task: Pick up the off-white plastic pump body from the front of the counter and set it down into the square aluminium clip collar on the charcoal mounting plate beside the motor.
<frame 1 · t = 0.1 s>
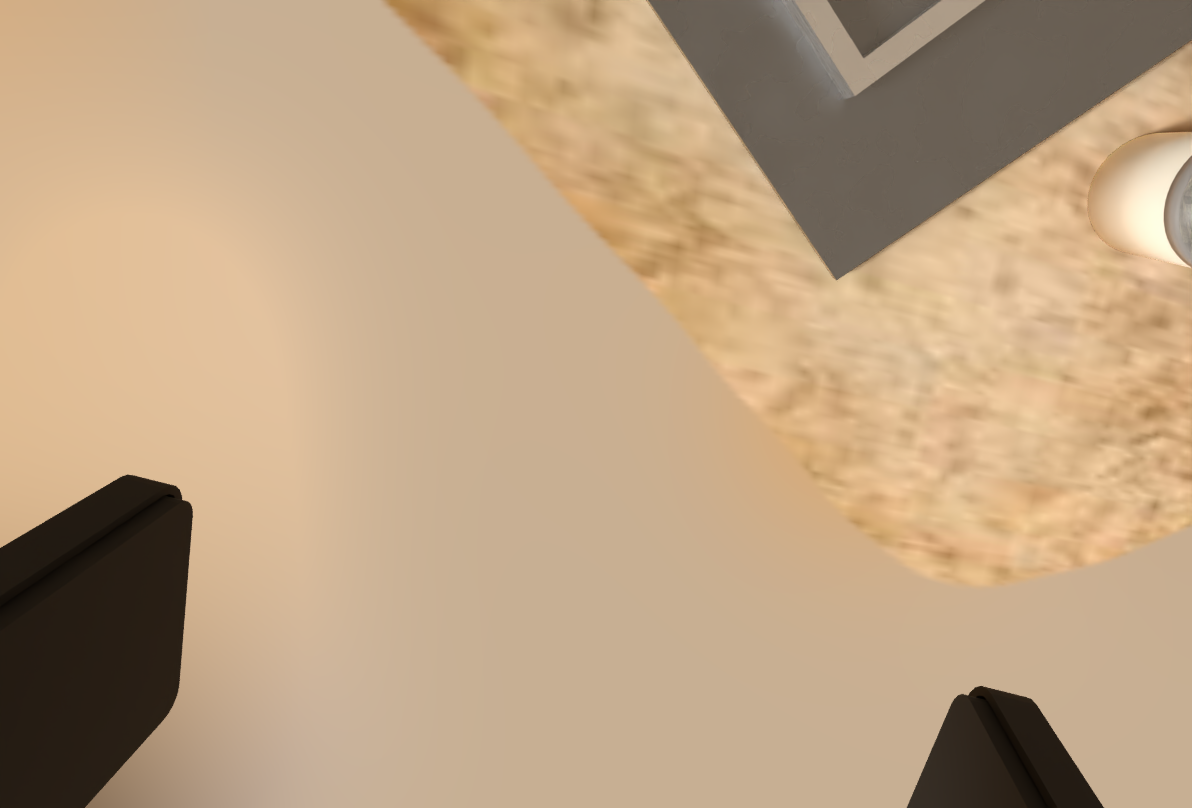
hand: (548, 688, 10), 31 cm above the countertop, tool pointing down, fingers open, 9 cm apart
pump body: (1150, 194, 36), on the countertop
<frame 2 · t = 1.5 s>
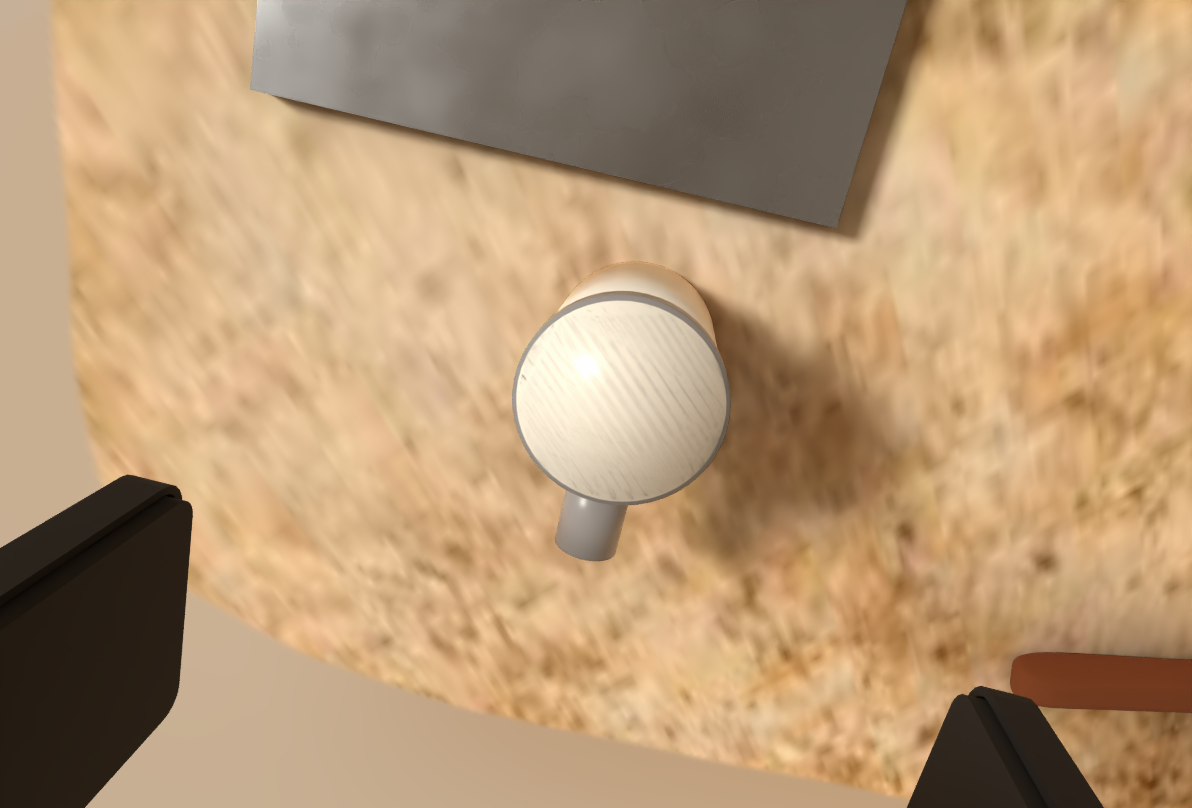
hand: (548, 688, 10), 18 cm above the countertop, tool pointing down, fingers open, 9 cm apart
pump body: (634, 341, 27), on the countertop
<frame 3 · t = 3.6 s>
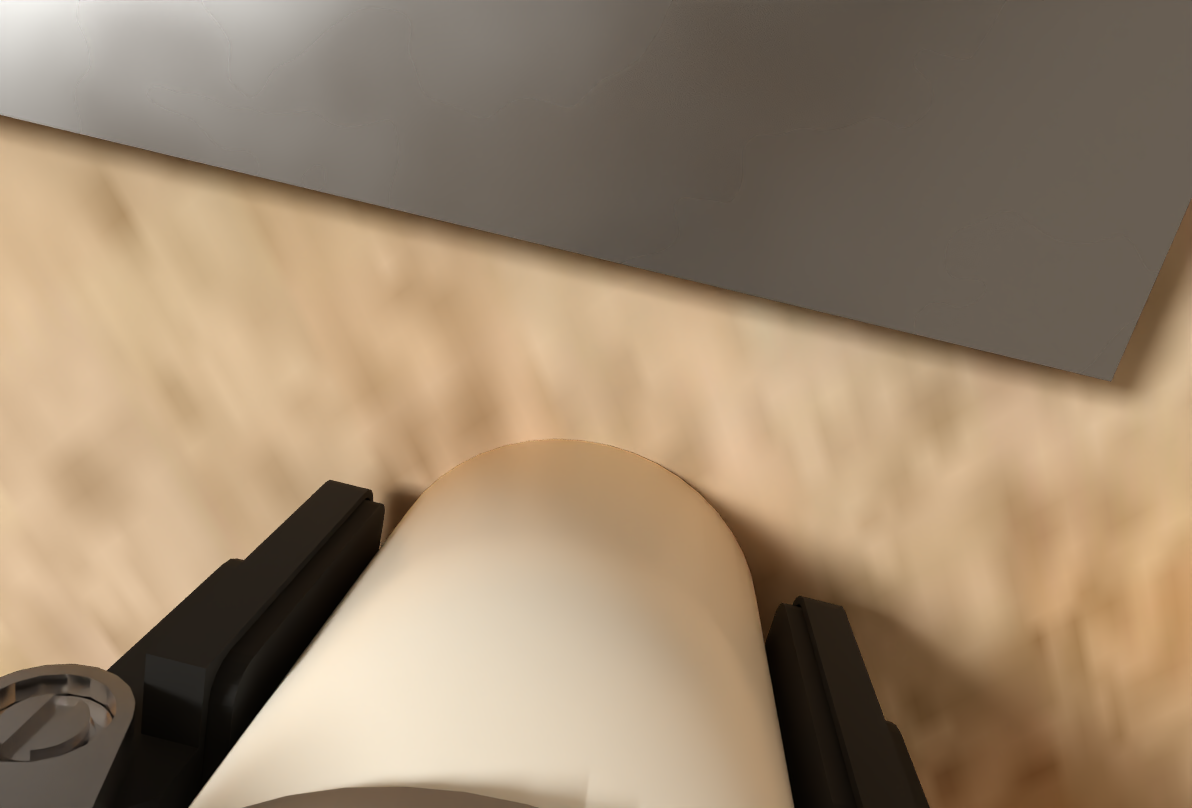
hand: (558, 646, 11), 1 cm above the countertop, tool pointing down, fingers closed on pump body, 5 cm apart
pump body: (565, 617, 11), on the countertop, touching gripper
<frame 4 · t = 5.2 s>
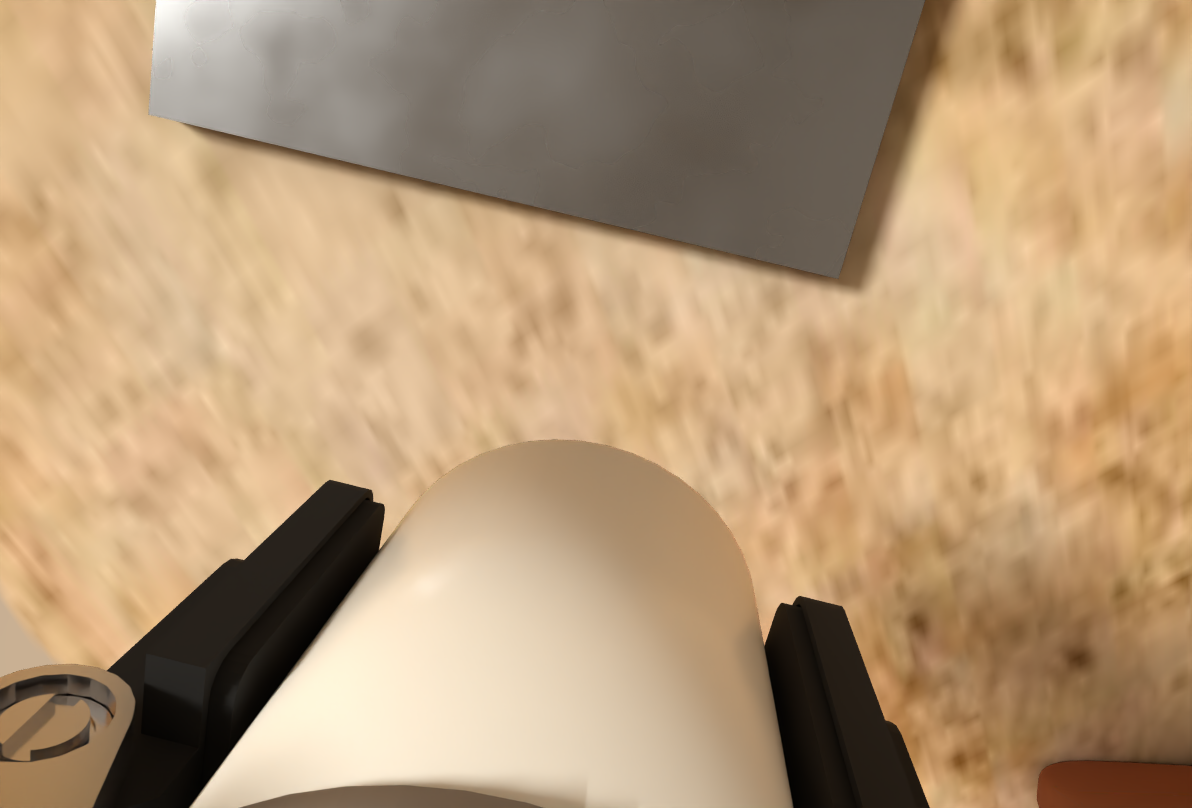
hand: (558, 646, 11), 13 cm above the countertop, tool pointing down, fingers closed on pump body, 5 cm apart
pump body: (565, 617, 11), point 12 cm above the countertop, touching gripper
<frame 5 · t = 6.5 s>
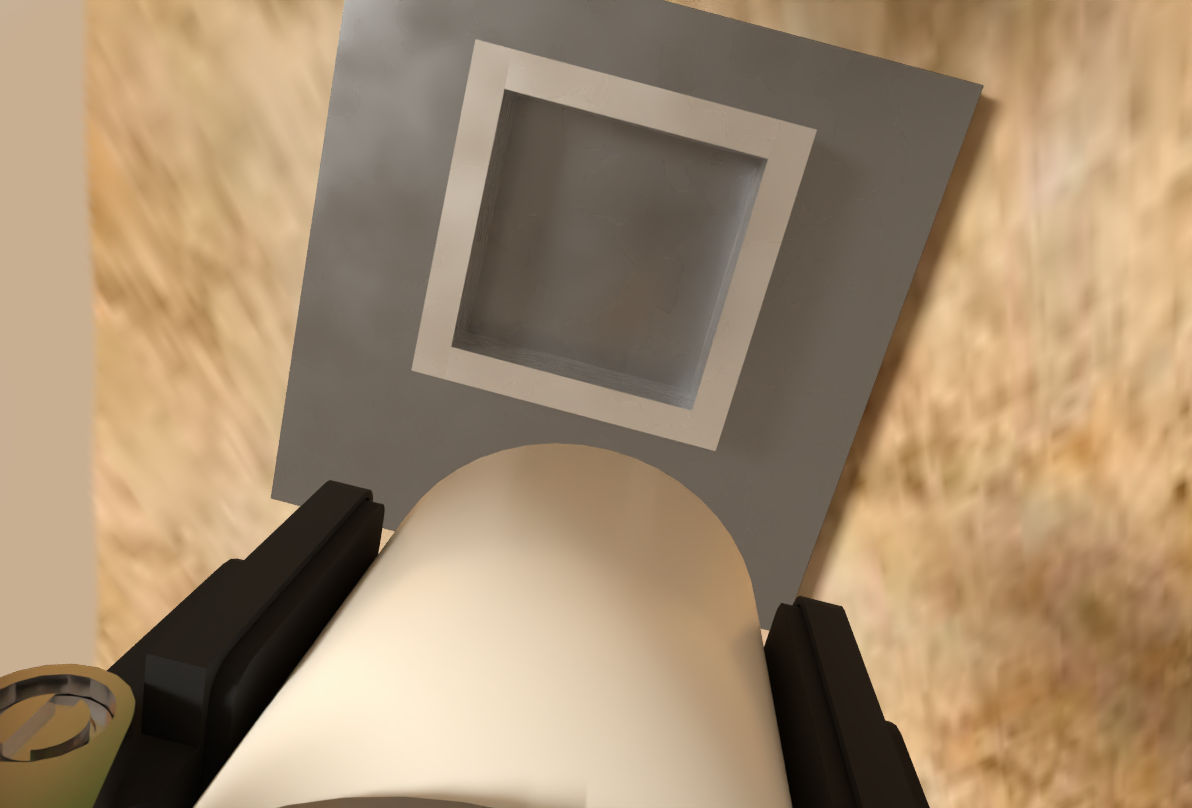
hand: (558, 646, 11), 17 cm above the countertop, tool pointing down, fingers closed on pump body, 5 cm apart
mount plate: (593, 307, 26), on the countertop
pump body: (564, 621, 11), point 16 cm above the countertop, touching gripper
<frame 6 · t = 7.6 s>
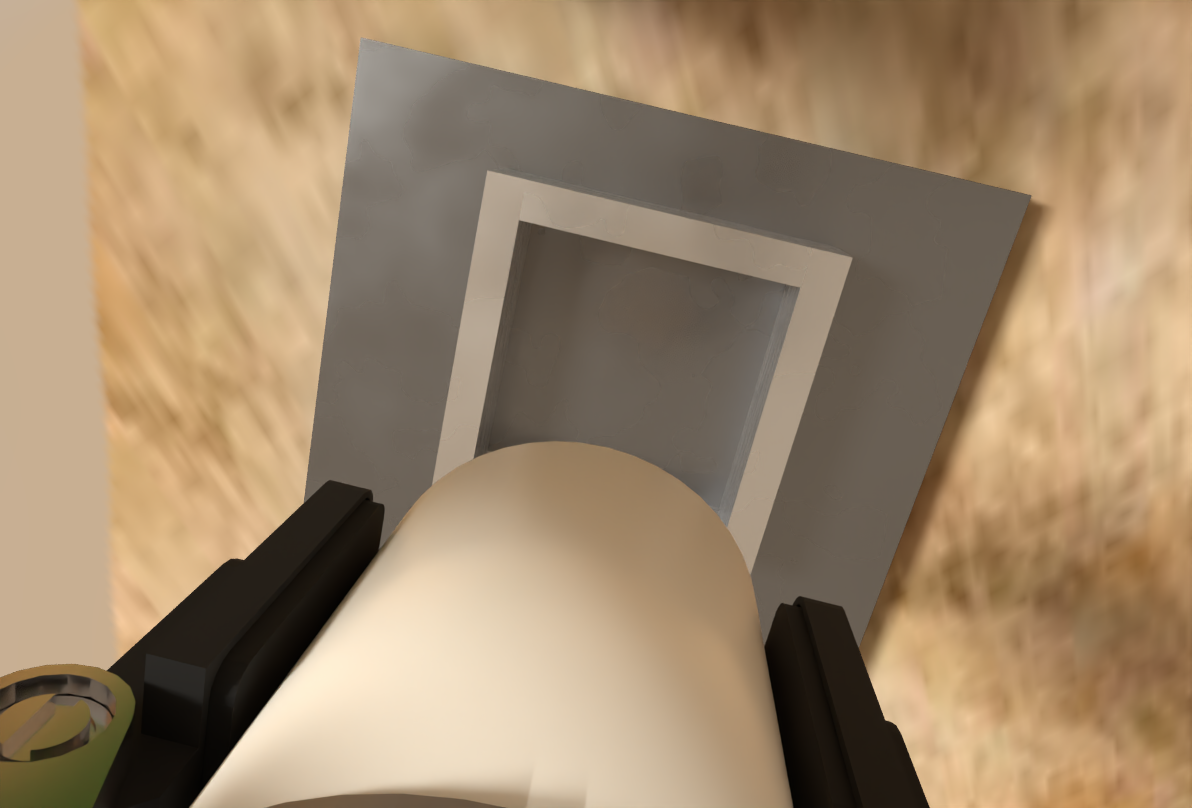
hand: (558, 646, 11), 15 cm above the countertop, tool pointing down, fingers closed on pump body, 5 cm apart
mount plate: (617, 419, 25), on the countertop
pump body: (564, 619, 11), point 14 cm above the countertop, touching gripper
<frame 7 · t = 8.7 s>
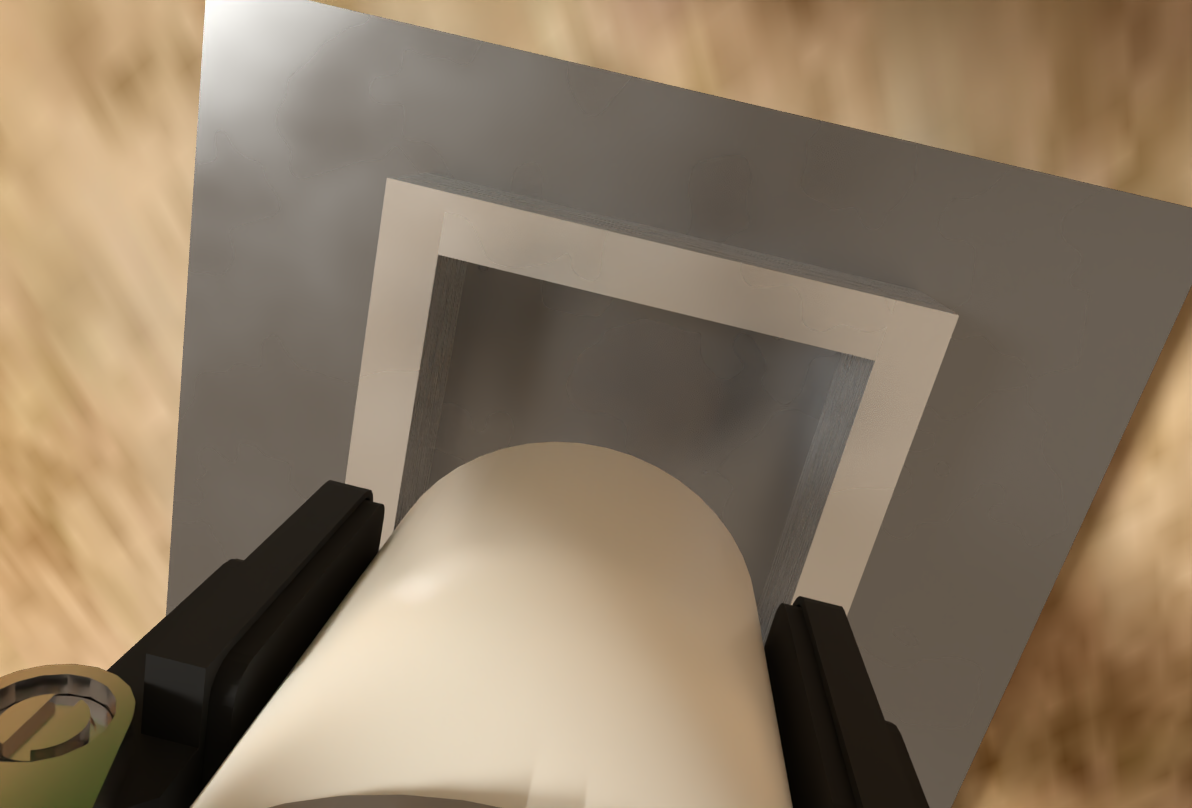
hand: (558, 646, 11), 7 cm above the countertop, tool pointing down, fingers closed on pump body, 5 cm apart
mount plate: (597, 525, 18), on the countertop
pump body: (564, 620, 11), point 6 cm above the countertop, touching gripper
when the fingers open (4 cm above the countertop, at t = 9.8 s): pump body drops 2 cm, resting on mount plate.
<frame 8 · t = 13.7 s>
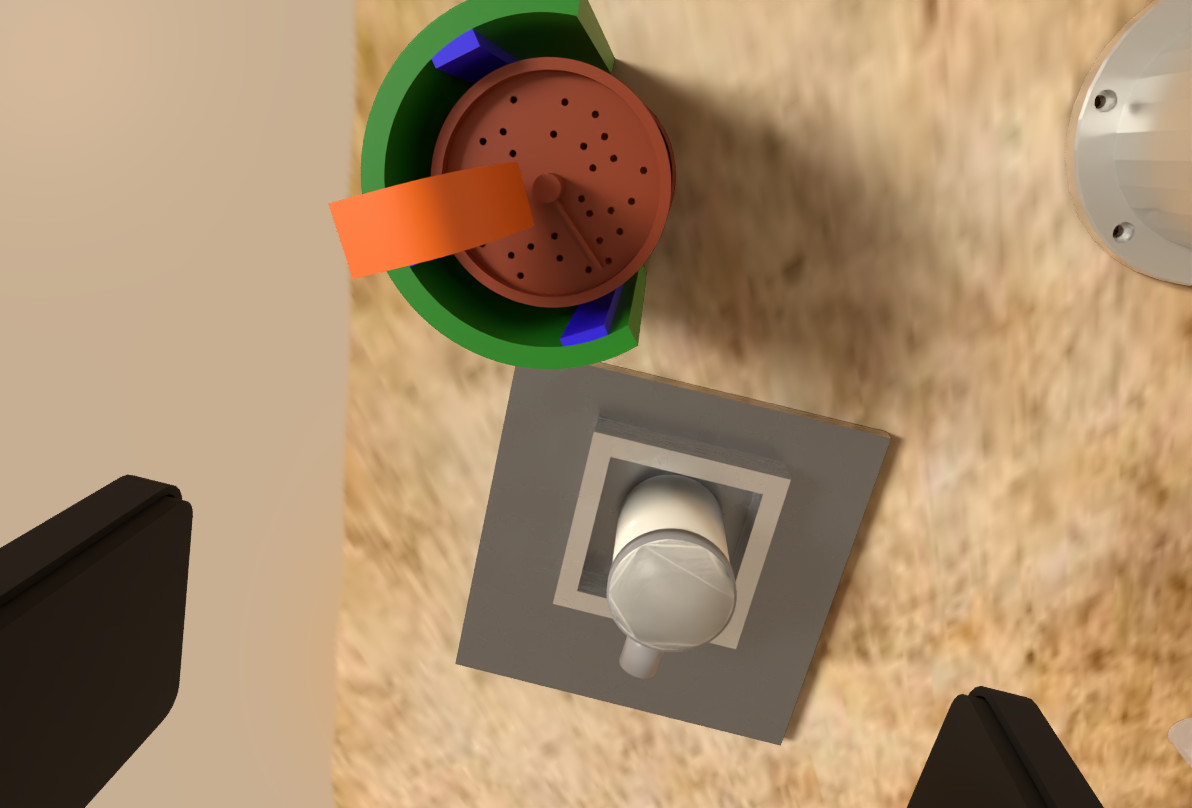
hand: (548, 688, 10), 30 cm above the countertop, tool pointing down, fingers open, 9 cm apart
motor: (578, 181, 38), on the countertop
pipe connector: (1184, 731, 43), on the countertop
mount plate: (658, 549, 43), on the countertop
pump body: (670, 523, 41), point 1 cm above the countertop, touching mount plate
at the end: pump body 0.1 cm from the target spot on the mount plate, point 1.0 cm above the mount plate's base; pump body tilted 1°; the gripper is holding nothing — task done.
